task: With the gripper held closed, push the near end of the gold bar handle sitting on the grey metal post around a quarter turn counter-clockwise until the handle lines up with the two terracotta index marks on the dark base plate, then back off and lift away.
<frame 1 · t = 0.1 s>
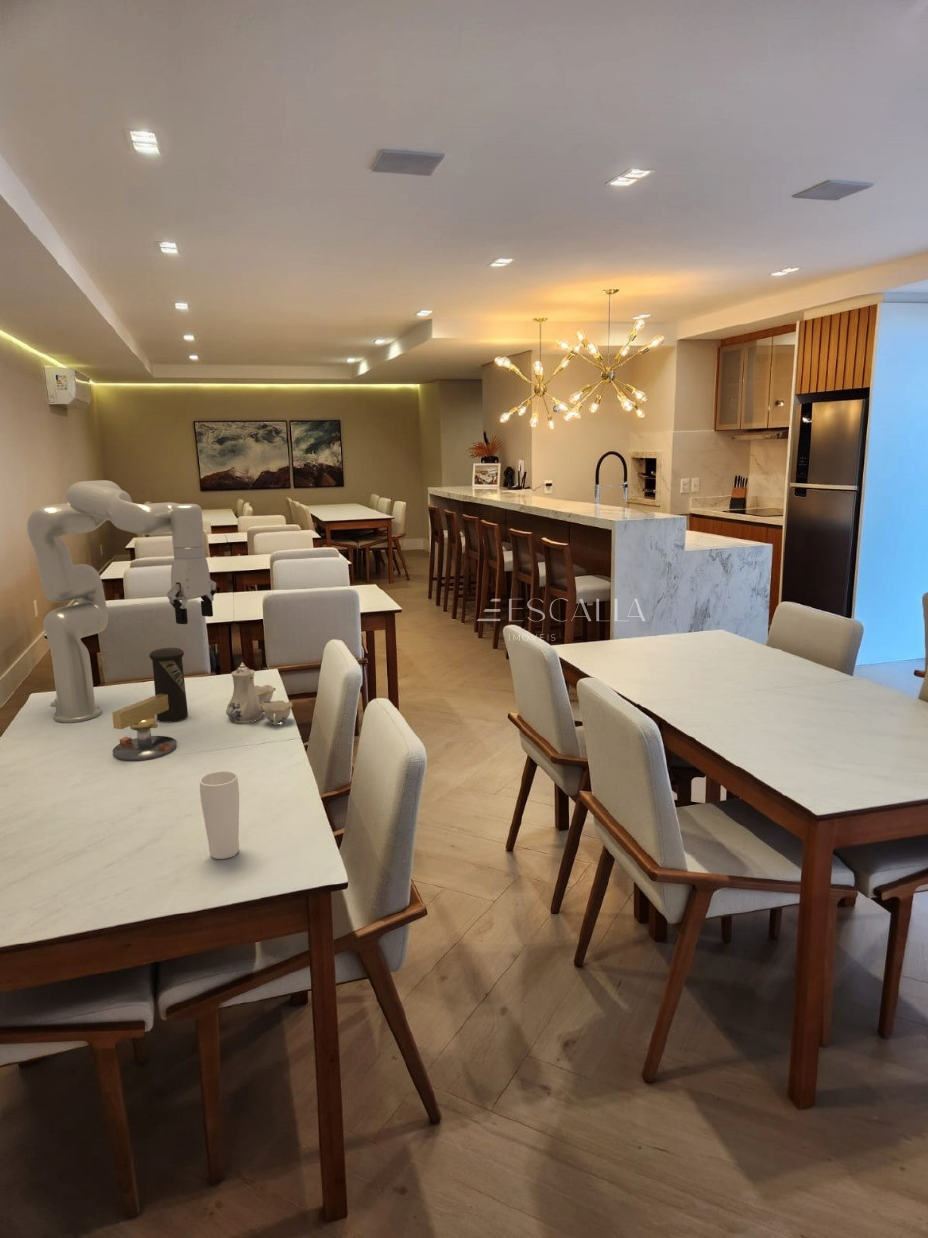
hand: (195, 619, 204), 31 cm above the table, tool pointing down, fingers open, 9 cm apart
drinking glass: (224, 854, 148), on the table
post base: (145, 750, 200), on the table
gold bar handle: (141, 714, 198), point 9 cm above the table, hinge at 0.0°
container: (172, 718, 224), on the table
chinaware: (257, 717, 225), on the table
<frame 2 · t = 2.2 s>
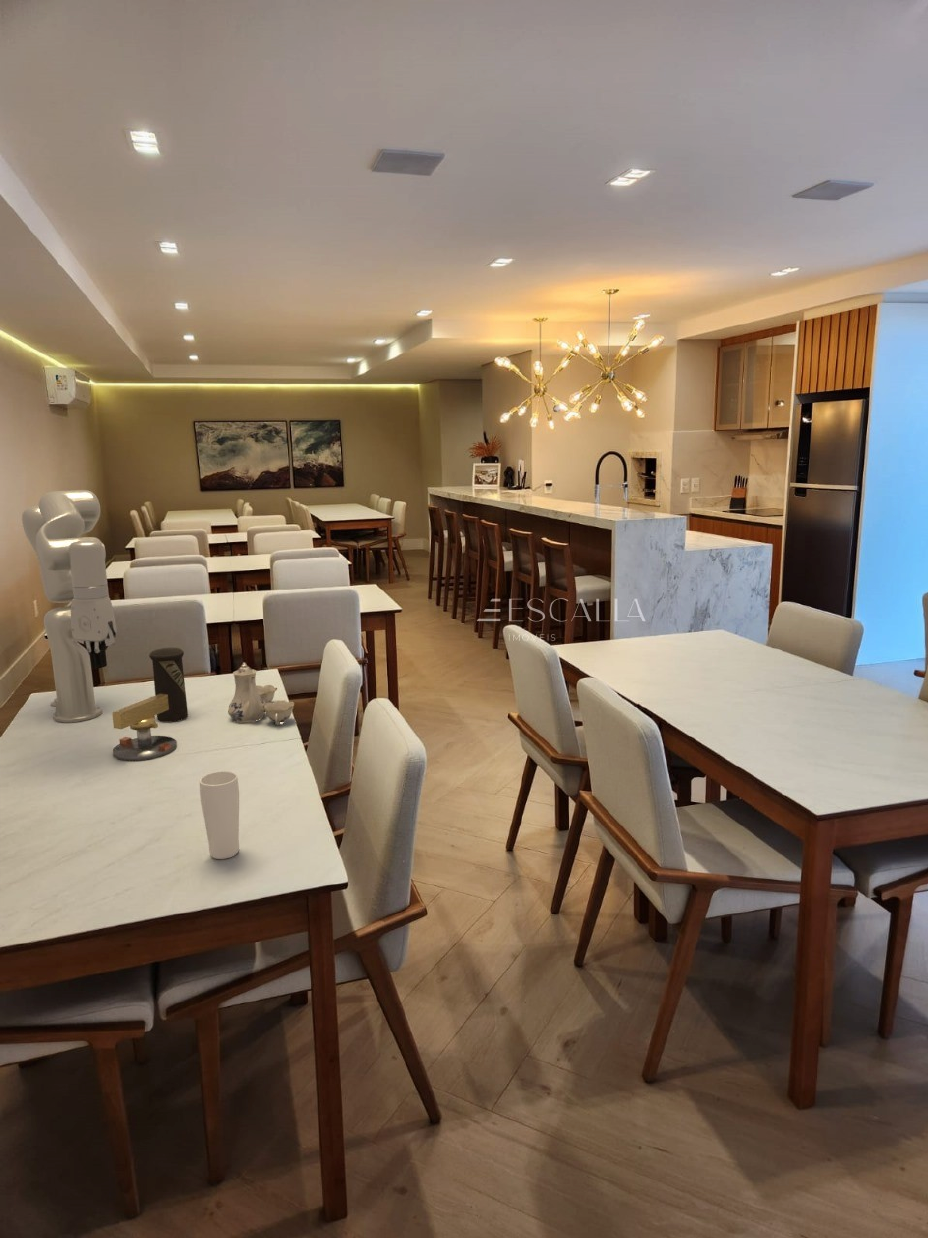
hand: (99, 667, 193), 22 cm above the table, tool pointing down, fingers closed
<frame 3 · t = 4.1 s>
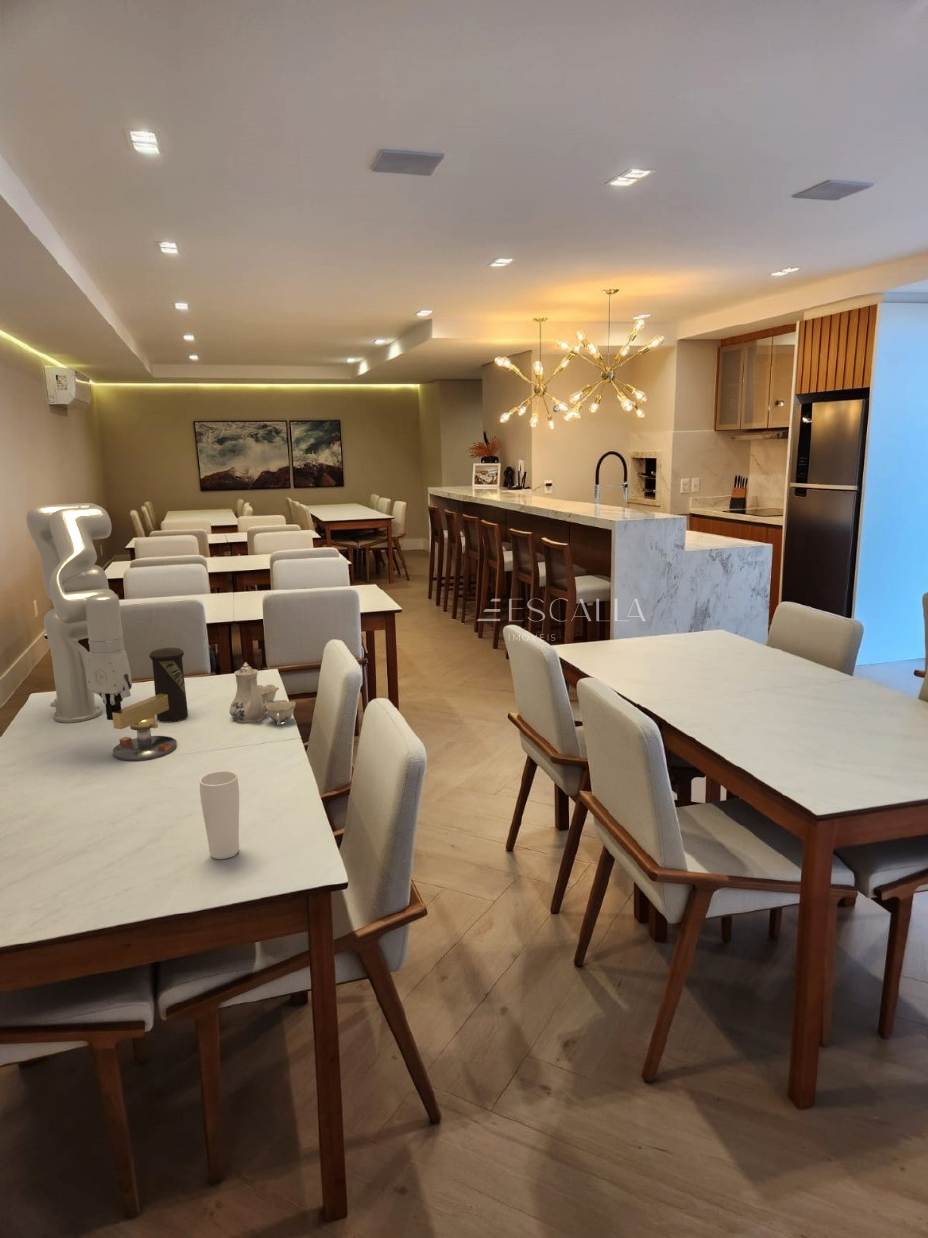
hand: (114, 718, 194), 10 cm above the table, tool pointing down, fingers closed
gold bar handle: (141, 714, 198), point 9 cm above the table, hinge at 0.0°, touching gripper
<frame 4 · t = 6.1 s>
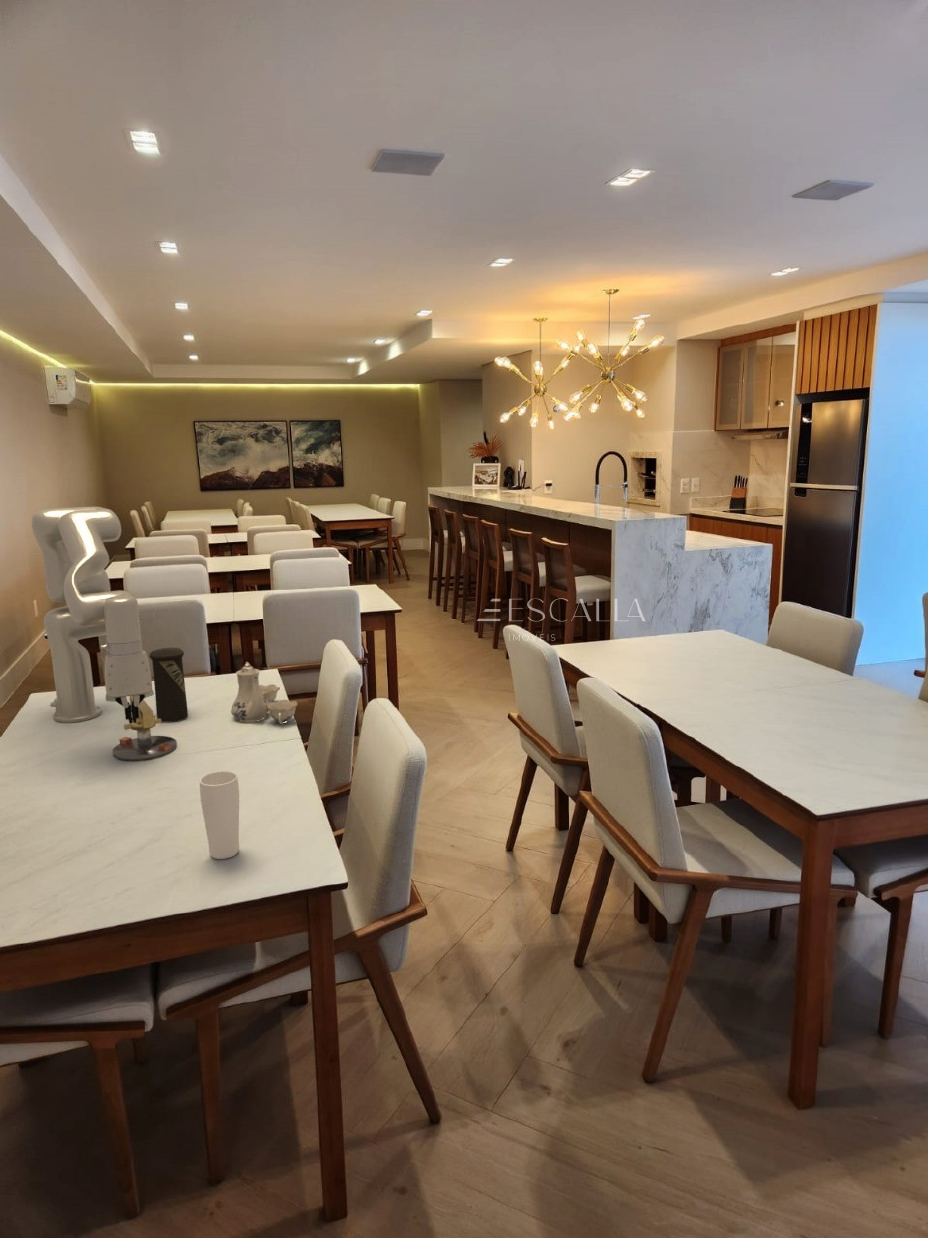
hand: (132, 721, 192), 10 cm above the table, tool pointing down, fingers closed
gold bar handle: (141, 714, 198), point 9 cm above the table, hinge at 54.9°, touching gripper
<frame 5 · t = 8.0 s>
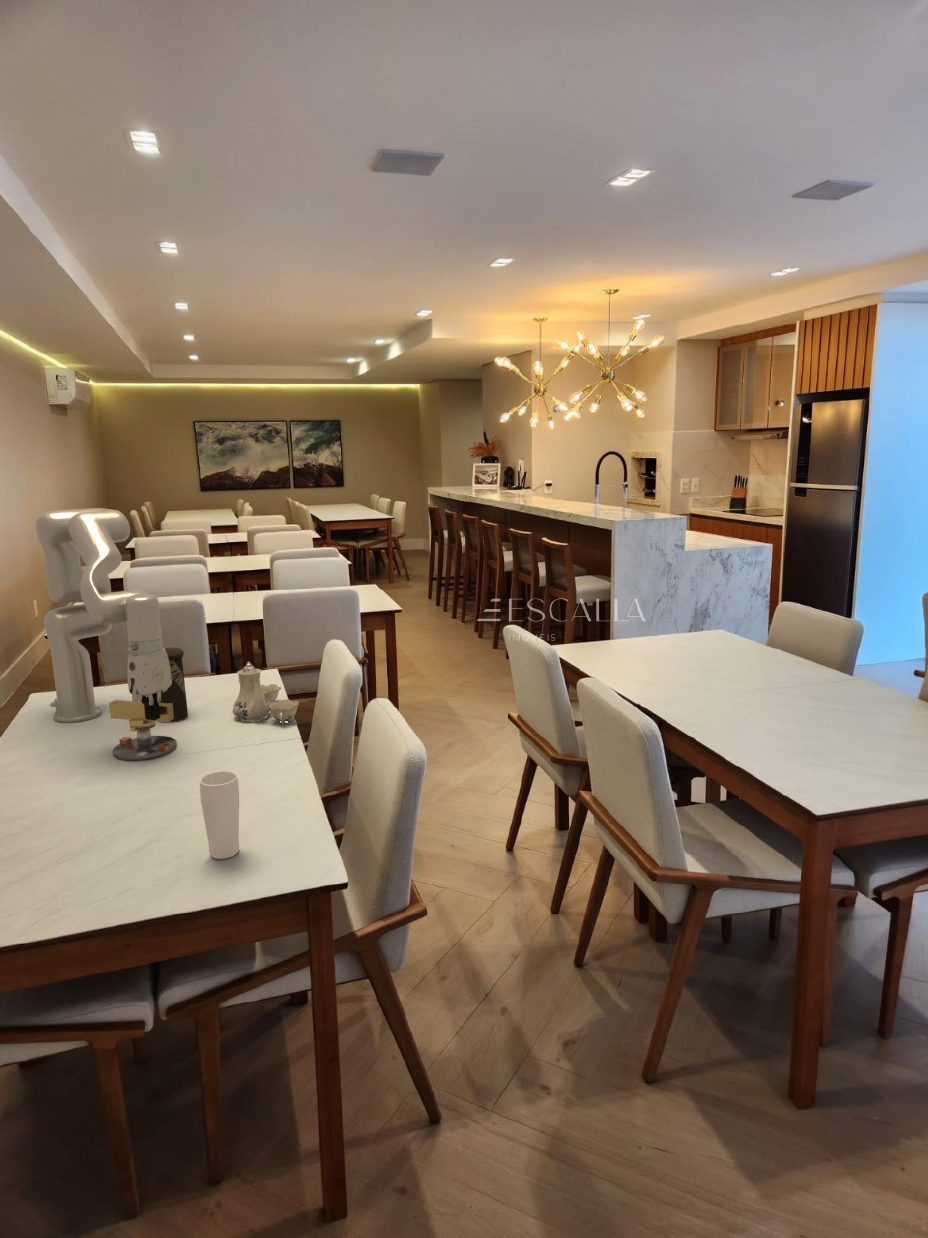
hand: (152, 718, 194), 10 cm above the table, tool pointing down, fingers closed
gold bar handle: (141, 714, 198), point 9 cm above the table, hinge at 100.0°, touching gripper
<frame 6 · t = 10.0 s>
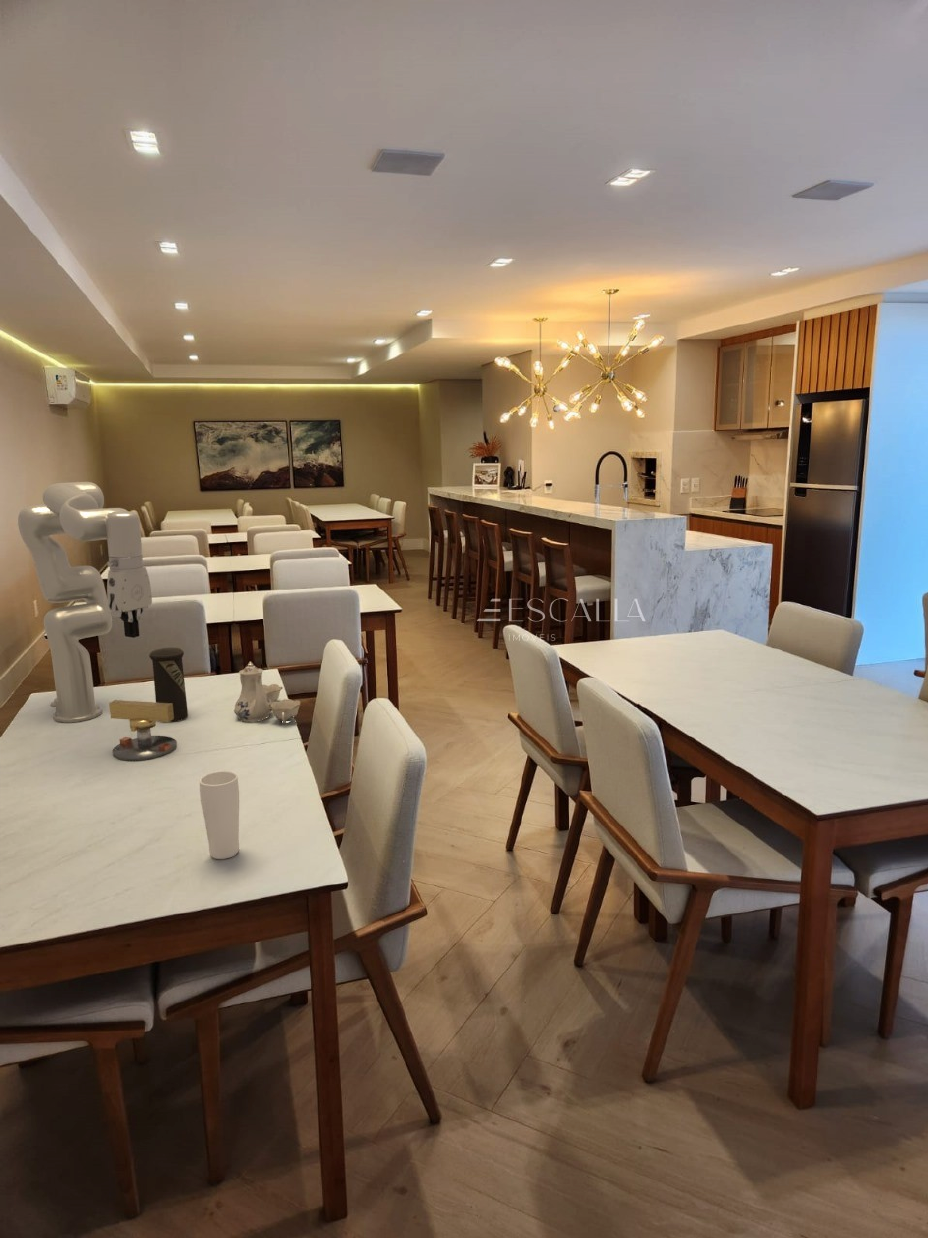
hand: (132, 636, 197), 29 cm above the table, tool pointing down, fingers closed
gold bar handle: (141, 714, 198), point 9 cm above the table, hinge at 100.0°
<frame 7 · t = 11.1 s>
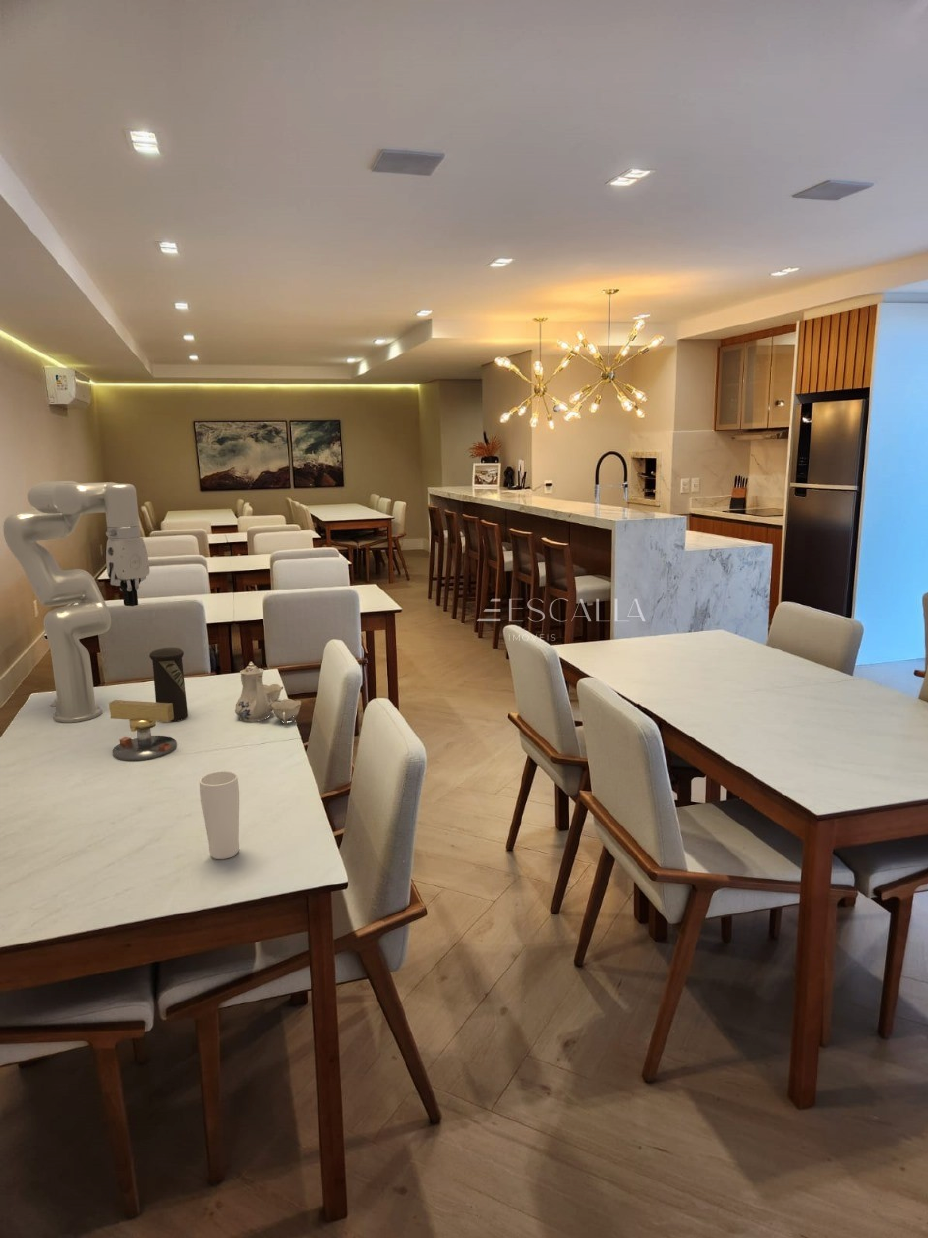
hand: (131, 605, 203), 35 cm above the table, tool pointing down, fingers closed
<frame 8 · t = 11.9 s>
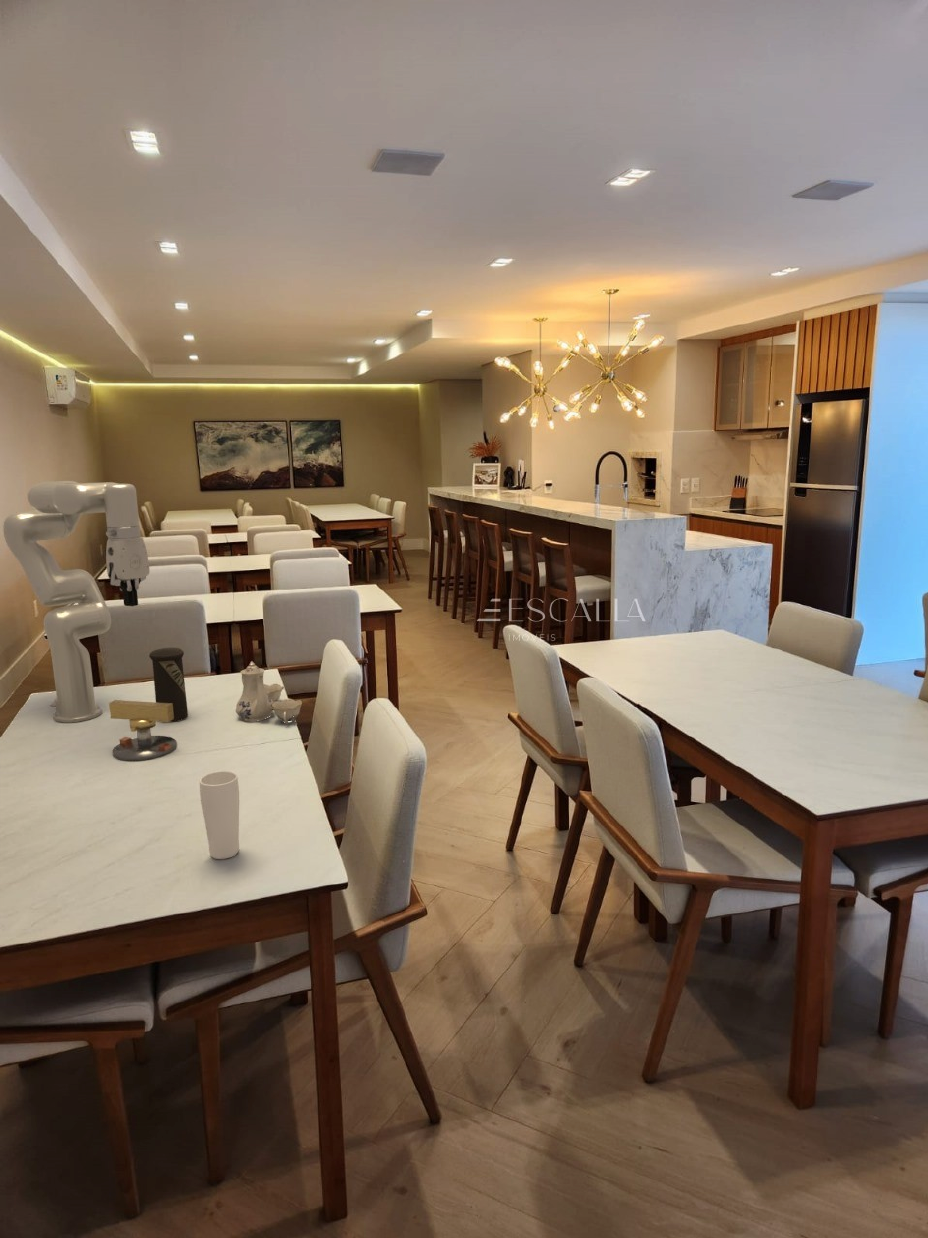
hand: (131, 605, 203), 35 cm above the table, tool pointing down, fingers closed
at the end: gold bar handle at +100° (first picture: +0°); the gripper is holding nothing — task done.
